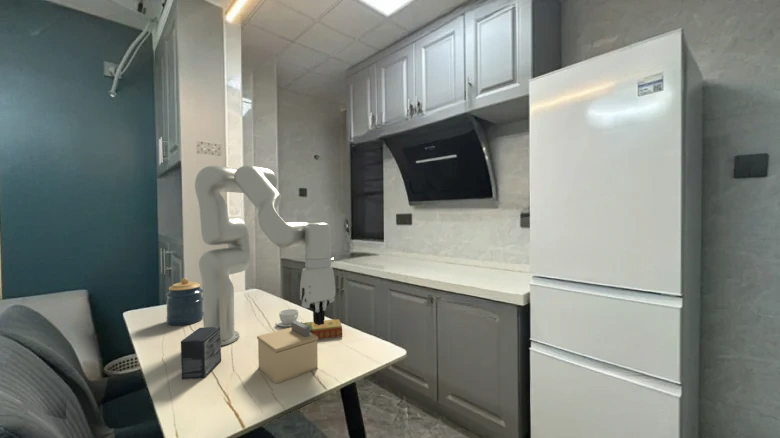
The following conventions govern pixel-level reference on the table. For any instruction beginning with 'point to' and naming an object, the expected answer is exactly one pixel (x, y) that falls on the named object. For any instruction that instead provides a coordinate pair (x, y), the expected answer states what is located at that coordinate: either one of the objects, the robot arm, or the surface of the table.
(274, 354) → the shipping box
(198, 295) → the canister
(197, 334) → the small box
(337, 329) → the carton
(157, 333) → the table surface
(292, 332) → the box lid
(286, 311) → the teacup
